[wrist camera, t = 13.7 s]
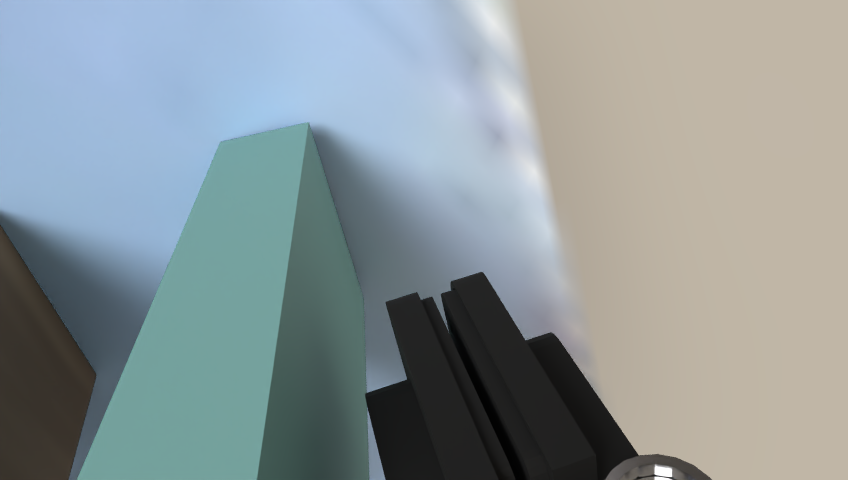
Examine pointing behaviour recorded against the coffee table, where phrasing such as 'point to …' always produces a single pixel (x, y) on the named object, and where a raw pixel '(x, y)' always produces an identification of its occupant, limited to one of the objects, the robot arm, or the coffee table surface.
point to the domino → (37, 379)
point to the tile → (248, 335)
